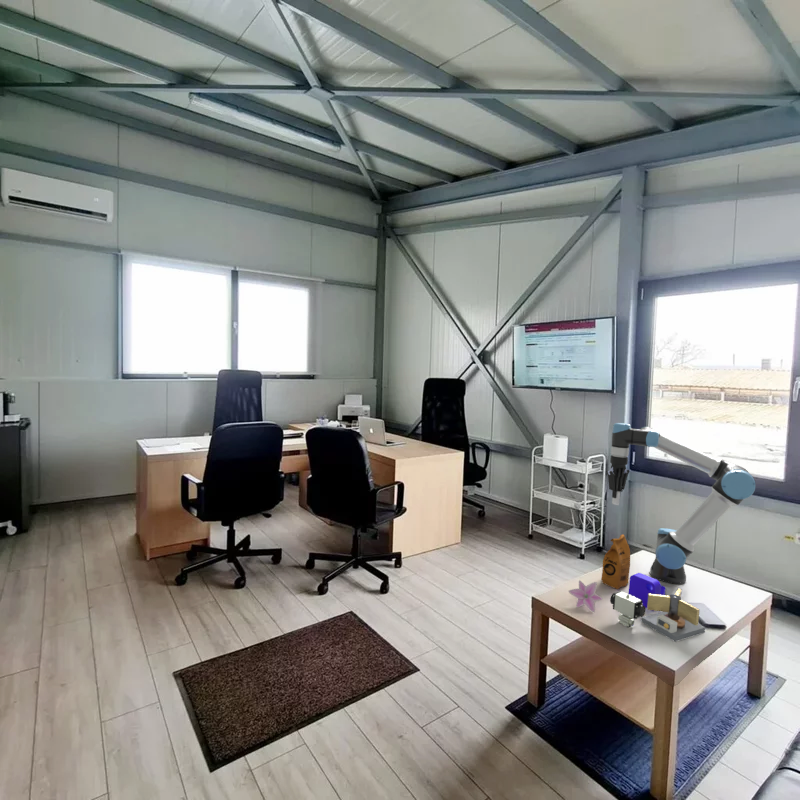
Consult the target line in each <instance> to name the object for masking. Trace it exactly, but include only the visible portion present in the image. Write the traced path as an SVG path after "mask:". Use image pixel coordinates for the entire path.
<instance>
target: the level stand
mask: <svg viewBox="0 0 800 800" xmlns="http://www.w3.org/2000/svg"><path fill="white" fill-rule="evenodd" d="M665 614H668V612H662V611H658V612H656V613H652V614H648V615H644V616H643V617H641V623H642V624H644V625H646V626H648V627H649V628H651V629H652V630H654V631H656V632H657V633H659V634H661V635H663V636H665V637H666V638H667V639H670V640H672V641H673V642H678V641H682V640H685V639H688V638H692V637H694V636H699V635H701V634H704V633H705V632H706V626H703V625H701V624H699V623H698V625H694V624H692V623H690V622H689V621H687V620H685V619H684V620H685V627H684V628H677V622H675V621H674V620H672V619H670V618H668V617H666V616H664V615H665Z"/></svg>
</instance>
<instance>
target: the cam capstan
mask: <svg viewBox="0 0 800 800" xmlns="http://www.w3.org/2000/svg"><path fill="white" fill-rule="evenodd" d="M646 609H647V610H648V611H652V610H653V611H652V612H668V614H665V615H664V616H666V617H668V618H670V619H672V620H674V621H675V622H677V628H684V627H685V620H687V621H689V622H690V623H692V624H694V625H698V624H699V620H700V619H699V618H700V608H697V607H696V606H694V605H692V604H691V603H688V602H686V601H685V600H682V588H677V590H676V591H675V593H674V594H673V593H671V594H669V595H666V594H665V595H657V594H648V603H647V608H646ZM684 619H685V620H684Z"/></svg>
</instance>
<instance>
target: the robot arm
mask: <svg viewBox="0 0 800 800" xmlns="http://www.w3.org/2000/svg"><path fill="white" fill-rule="evenodd" d="M611 435H612V436H611V450H610V454H611V455H610V463H611V464H610V469H609V470H606V474H607V481H608V489H609V490H611V492H612V495H611V497H612V499H611V500H612V501H611V504H612V505H614V506H619V505H620V498H621V493H622V492H623V491H624V490H625V487H626V484H627V481H628V475H629V473H630V469H627V467H626V466H627V465H628V463H629V458H628V456H629V452H630V451H629V450H630V449H629V448H630V445H633V446H642V447H649V448H655V449H657V450H659V451H661V452H663V453H665V454H667V455H669V456H671V457H673V458H675V459H677V460H679V461H681V462H683V463H686V464H688V465H690V466H692V467H693V468H696V469H698V470H699V471H702V472H704V473H706V474H707V475H708V477H709V478H711V479H713V480H715V482H714V483H713V484H712V486H711V492H710V494H709V495H708V496H707V497H706V498H705V499H704V500H703V501H702V503H700V505H698V507H697V508H696V509H695V510H694V511H693V512H692V513H691V514H690V515H689V516H688V518H686V520H685V521H684V522H683V523H681V525H680V526H679V527H678V528H677V529H673V528H666V527H664V528H663V527H661V528H658V529H657V532H656V534H657V536H656V546H655V552H654V553H655V558H654V560H653V563H652V564H651V566H650V569H649V570H650V571H649V574H650V575H651V576H652V578H654V579H656V580H658V581H662V582H663V583H664V582H665V583H669V584H674V585H675V584H676V585H677V584H678V585H679V584H681V585H683V584H685V583H686V581H687V574H686V571H685V564H686V563H687V559H688V557H689V556H691V554H692V553H693V552H695V546H694V545H696V543H698V542H699V541H700V539H701V538H702V537H703V536H704V535H705V534H706V533H707V532H708V531H709V530H710V529H711V528H712V527H713V526H714V525H715V524H716V522H718V520H719V519H721V517H722V516H724V514H725V513H726V512H727V511H728V510H729V509H730V508H731V507H732V506H739V505H740V503H742V502H743V501H744V500H745V499H748V498H750V497H751V496H752V495H754V492H755V490H756V481H755V479H754V477H753V475H752V474H751V473H750V472H749V471H748V469H746V468H744V467H742V466H740V465H738V464H734V463H731V462H729V461H727V460H724V459H723V458H715V457H713V456H710V455H709V454H706V453H705V452H702V451H700V450H698V449H696V448H693V447H691V446H688V445H687V444H684V443H682V442H681V441H678V440H676V439H674V438H672V437H670V436H668V435H666V434H664V433H661V432H659V431H657V430H655V429H653V427H650V426H642V427H641V428H632V427H631V424H629V423H626V422H625V423H624V422H615V423H614V424H613V427H612V434H611Z"/></svg>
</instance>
